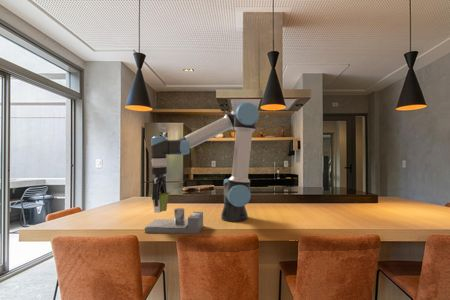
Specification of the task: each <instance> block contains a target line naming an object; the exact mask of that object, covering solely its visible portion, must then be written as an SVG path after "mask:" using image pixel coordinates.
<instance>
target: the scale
mask: <svg viewBox="0 0 450 300" xmlns="http://www.w3.org/2000/svg"><path fill="white" fill-rule="evenodd" d="M187 220H188V226H187V228H162V227H147V226H145V228H144V232H145V233H151V234H152V233H153V234H155V233H156V234H194V235H195V234H199V233H200V232H201V230H202V229H203V227H204V211H193V212H192V213H191V214H190V215H189V216H188V217H187ZM202 226H203V227H202ZM201 228H202V229H201ZM200 229H201V230H200Z"/></svg>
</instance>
